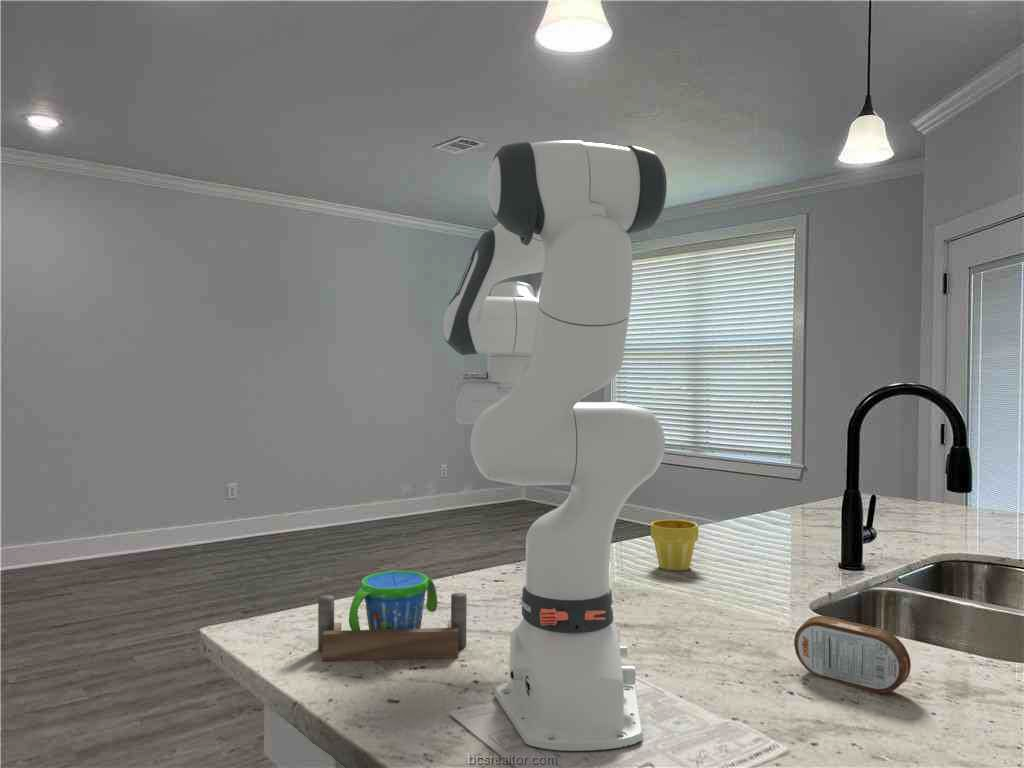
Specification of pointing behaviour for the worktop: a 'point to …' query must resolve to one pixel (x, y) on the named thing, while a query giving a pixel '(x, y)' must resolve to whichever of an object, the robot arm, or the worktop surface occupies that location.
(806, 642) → the tin
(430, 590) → the snack cup
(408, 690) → the worktop surface
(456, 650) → the cradle
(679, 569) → the plant pot
